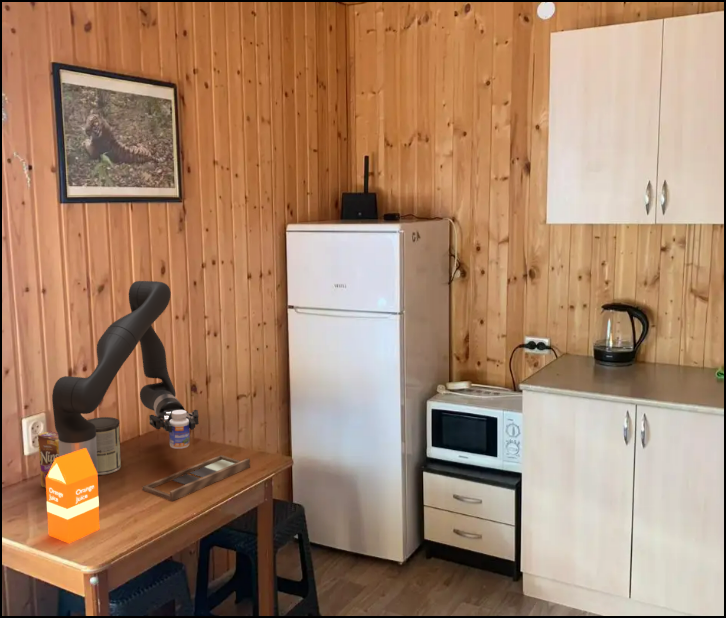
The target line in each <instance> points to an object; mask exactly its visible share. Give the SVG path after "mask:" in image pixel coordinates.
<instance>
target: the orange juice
mask: <svg viewBox="0 0 726 618" xmlns="http://www.w3.org/2000/svg"><path fill="white" fill-rule="evenodd" d="M97 474H98V473H97V471H96V469H95V467H94V465H93V462H92V460H91V458H90V456H89V454H88V451H87V449H86V448H84V449H81V450H78V451H75V452H72V453H69V454H66V455H63V456H60V457H58V458H55V460H54V462H53V464H52V466H51V468H50V470H49V472H48V474H47V477H46V488H45V490H46V491H45V494H46V512H47V513H46V514H47V529H48V536H50V537H51V538H55V539H57V540H60V541H62V542H65V543H67V544H71V543H73V542H75V541H77V540H79V539H82V538H84V537H86V536H88V535H90V534H92V533H95V532H97V531H99V530H100V510H99V509H100V508H99V507H100V502H99V491H98V490H99V478H98V477H99V476H98V477H97Z"/></svg>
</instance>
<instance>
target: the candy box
mask: <svg viewBox="0 0 726 618" xmlns="http://www.w3.org/2000/svg"><path fill="white" fill-rule="evenodd" d="M37 442H38V456H39V469H40V471H39V472H40V485H41V487H42V488H45V489H46V477H47V474H48V472H49V470H50V468H51V466H52V464H53V462H54V460H55V458H58V457H59V440H58V433H57V432H55V431H51V430H47V431H44V432H42V433H39V434H38V435H37Z"/></svg>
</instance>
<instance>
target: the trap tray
mask: <svg viewBox="0 0 726 618" xmlns="http://www.w3.org/2000/svg"><path fill="white" fill-rule="evenodd" d="M199 468H200V469H199ZM248 468H251V459H250V458H245V459H243V460H239V459H236V458H233V457H229V456H226V455H224V454H220V455H217V456H215V457H213V458H210V459H208V460H205V461H203V462H200V463H198V464H197V463H196V464H195V465H192V466H190V467H187V468H185V469H183V470H180V471H178V472H174V473H173V474H170V475H167V476H165V477H163V478H160V479H158V480H155V481H153V482H151V483H148V484H146V485H143V486H142V488H141V489H142V491H145V492H147V493H149V494H152V495H155V496H158V497H160V498H163V499H166V500H168V501H171V502H173V501H176V500H178V498H179V499H180V497H181V498H183V497H185V496H187V494H188V495H190V494H192V493H195V492H197V491H199V490H201V489H203V488H205V486H206V487H209V486H210V485H212V484H215V483H216V482H219V481H222V480H223V479H226V478H228V477H230V476H233V475H236V474H237V473H239V472H242V471H245V470H247V469H248ZM194 470H195V471H194ZM192 474H194V475H192ZM182 475H183V476H182ZM195 475H196V476H195ZM198 476H200V477H198ZM201 477H202V478H201ZM171 481H173V482H176V483H178V484H180V485H181V486H179V487H177V488H175V489H172V490H170V491H169V493H167V492H165V491H163V490H162V491H161V490H159V489H157V488H156V487H158V486H160V485H163V484H165V483H167V482H171ZM183 484H184V485H183ZM196 490H197V491H196ZM189 493H190V494H189Z"/></svg>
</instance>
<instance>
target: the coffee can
mask: <svg viewBox="0 0 726 618" xmlns="http://www.w3.org/2000/svg"><path fill="white" fill-rule="evenodd" d="M87 420H88V421H90V422H91V423H93V424H94V425H95V427H96V444H97V469H98V476H99V475H102V476H103V475H109V474H112V473H115V472H117V471H119V470H120V469H121V467H122V465H121V464H122V463H121V448H120V447H121V445H120V444H121V443H120V442H121V441H120V439H121V438H120V436H121V435H120V419H118V418H116V417H109V416H102V417H94V418H90V419H87Z"/></svg>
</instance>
